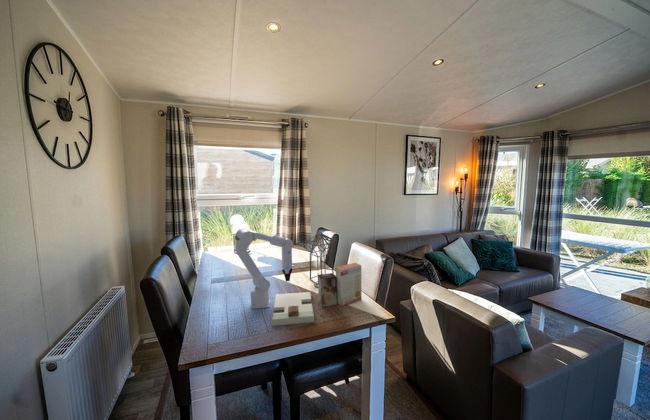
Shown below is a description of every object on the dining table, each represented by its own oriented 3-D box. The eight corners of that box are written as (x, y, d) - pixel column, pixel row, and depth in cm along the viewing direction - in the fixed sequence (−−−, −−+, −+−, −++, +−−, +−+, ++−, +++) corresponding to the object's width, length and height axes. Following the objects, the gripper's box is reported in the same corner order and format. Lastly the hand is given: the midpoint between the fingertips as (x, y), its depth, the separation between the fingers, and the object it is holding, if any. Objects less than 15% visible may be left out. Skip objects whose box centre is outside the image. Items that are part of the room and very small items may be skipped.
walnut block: (288, 318, 118) (288, 311, 117) (288, 313, 123) (288, 306, 122) (298, 317, 119) (298, 310, 118) (298, 312, 123) (298, 305, 123)
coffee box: (333, 299, 140) (333, 272, 138) (337, 304, 134) (337, 276, 132) (318, 301, 138) (317, 274, 136) (321, 307, 132) (320, 278, 130)
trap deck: (272, 325, 116) (271, 319, 115) (276, 297, 143) (275, 292, 143) (314, 322, 118) (314, 315, 118) (310, 295, 146) (310, 290, 145)
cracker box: (355, 296, 144) (355, 262, 141) (361, 300, 138) (362, 265, 136) (335, 302, 137) (335, 266, 134) (341, 307, 132) (341, 270, 129)
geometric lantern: (320, 293, 147) (318, 237, 143) (305, 285, 159) (302, 233, 155) (339, 286, 157) (337, 232, 153) (324, 279, 169) (322, 229, 165)
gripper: (293, 262, 136) (294, 285, 137) (293, 254, 150) (294, 275, 152) (281, 263, 135) (281, 286, 136) (282, 255, 149) (283, 276, 151)
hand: (287, 280), depth 144 cm, fingers closed
